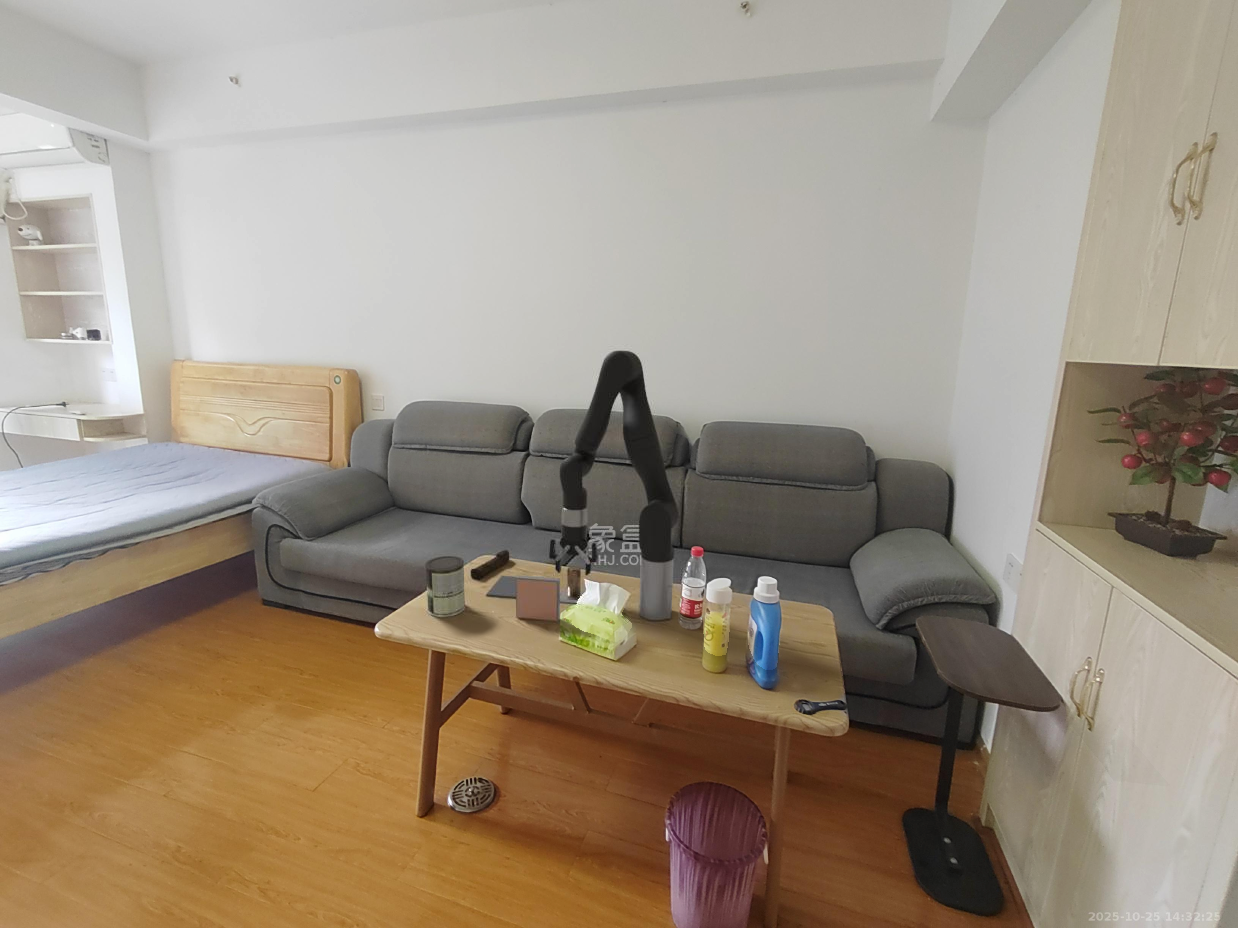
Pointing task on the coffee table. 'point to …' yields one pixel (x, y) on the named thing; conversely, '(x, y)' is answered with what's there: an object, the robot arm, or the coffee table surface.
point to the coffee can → (445, 586)
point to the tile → (538, 598)
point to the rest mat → (504, 587)
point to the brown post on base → (572, 586)
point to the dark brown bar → (490, 565)
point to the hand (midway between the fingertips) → (573, 573)
